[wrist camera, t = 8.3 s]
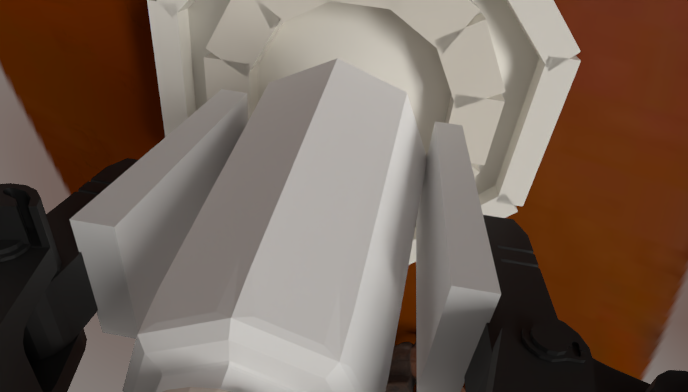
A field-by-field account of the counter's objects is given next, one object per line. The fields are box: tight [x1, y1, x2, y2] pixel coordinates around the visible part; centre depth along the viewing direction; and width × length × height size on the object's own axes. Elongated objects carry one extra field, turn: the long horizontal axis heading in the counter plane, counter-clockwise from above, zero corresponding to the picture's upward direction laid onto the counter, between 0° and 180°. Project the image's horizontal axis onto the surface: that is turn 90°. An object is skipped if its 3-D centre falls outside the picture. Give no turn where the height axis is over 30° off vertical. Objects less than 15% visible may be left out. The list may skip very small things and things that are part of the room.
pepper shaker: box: [123, 58, 427, 392], centre depth 9 cm, size 5×5×11 cm
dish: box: [147, 0, 581, 264], centre depth 16 cm, size 14×14×2 cm
